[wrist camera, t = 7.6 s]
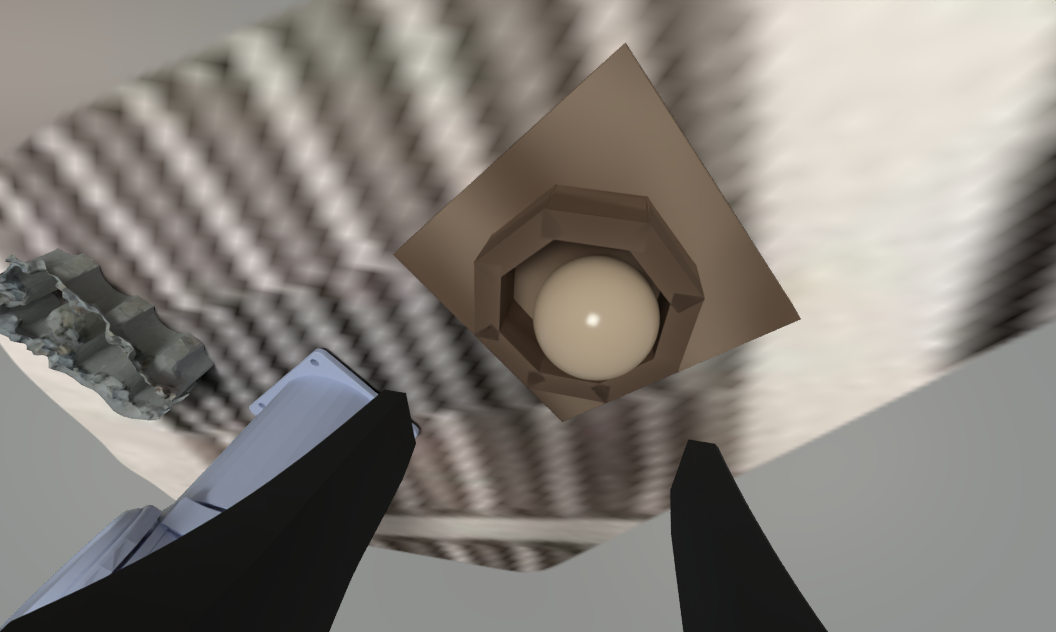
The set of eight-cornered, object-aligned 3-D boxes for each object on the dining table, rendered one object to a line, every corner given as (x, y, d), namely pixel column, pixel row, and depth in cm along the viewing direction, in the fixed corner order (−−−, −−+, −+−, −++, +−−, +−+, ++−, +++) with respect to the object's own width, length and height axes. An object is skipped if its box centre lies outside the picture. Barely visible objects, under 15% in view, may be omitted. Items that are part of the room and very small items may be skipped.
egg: (573, 347, 20) (594, 425, 16) (504, 285, 17) (510, 358, 14) (658, 287, 18) (704, 357, 14) (595, 210, 16) (629, 269, 12)
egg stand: (564, 408, 24) (555, 460, 21) (402, 244, 20) (364, 282, 17) (793, 305, 18) (823, 360, 15) (625, 42, 14) (623, 48, 11)
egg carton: (232, 357, 27) (177, 403, 24) (186, 396, 31) (134, 442, 28) (67, 227, 24) (-24, 260, 20) (37, 289, 27) (-44, 326, 24)
